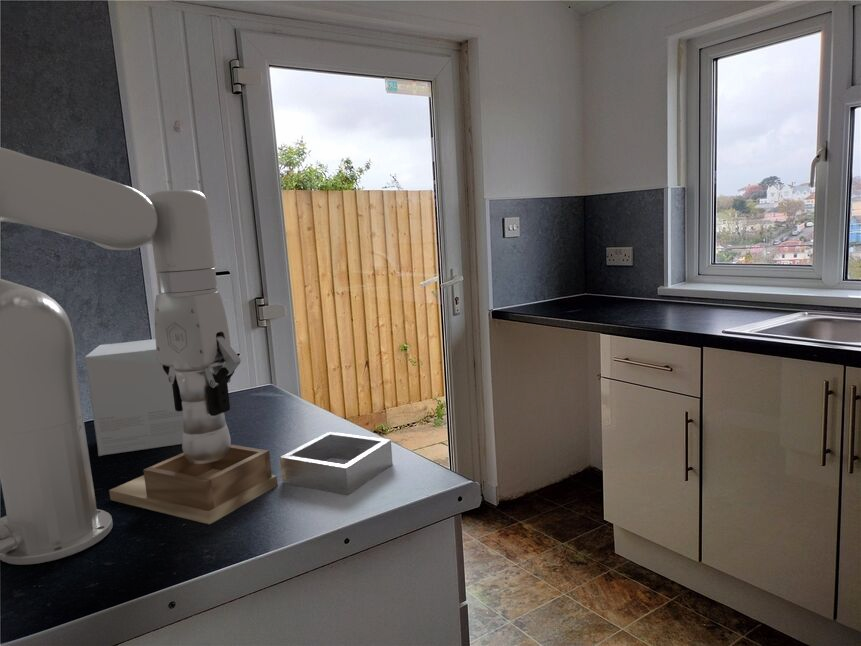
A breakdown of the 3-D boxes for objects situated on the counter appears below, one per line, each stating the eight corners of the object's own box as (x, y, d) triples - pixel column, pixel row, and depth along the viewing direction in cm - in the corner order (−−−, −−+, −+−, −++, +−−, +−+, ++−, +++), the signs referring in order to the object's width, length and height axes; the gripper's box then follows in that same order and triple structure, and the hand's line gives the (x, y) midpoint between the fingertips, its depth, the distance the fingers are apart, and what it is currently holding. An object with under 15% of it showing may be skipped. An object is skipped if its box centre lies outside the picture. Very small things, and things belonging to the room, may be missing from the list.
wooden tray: (209, 524, 81) (204, 484, 80) (110, 499, 90) (105, 463, 89) (277, 485, 92) (274, 449, 91) (183, 467, 102) (179, 434, 101)
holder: (348, 495, 87) (346, 468, 87) (282, 482, 93) (279, 457, 92) (392, 464, 98) (390, 439, 97) (330, 454, 104) (328, 431, 103)
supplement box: (205, 421, 126) (194, 333, 123) (202, 442, 113) (190, 345, 111) (111, 434, 121) (98, 343, 118) (96, 457, 108) (82, 356, 106)
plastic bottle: (173, 468, 87) (155, 326, 83) (204, 450, 93) (188, 318, 90) (213, 471, 85) (196, 326, 81) (242, 452, 91) (227, 317, 88)
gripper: (121, 286, 86) (138, 413, 88) (211, 286, 77) (227, 425, 80) (167, 280, 92) (181, 398, 95) (254, 279, 84) (267, 408, 87)
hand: (202, 409), depth 88 cm, fingers closed on plastic bottle, 6 cm apart
